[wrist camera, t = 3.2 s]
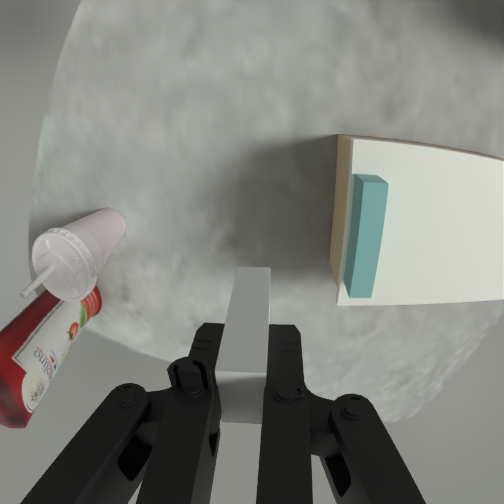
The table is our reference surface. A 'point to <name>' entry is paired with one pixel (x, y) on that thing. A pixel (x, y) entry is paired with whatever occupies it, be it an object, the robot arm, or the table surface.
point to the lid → (421, 226)
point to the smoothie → (75, 254)
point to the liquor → (38, 351)
